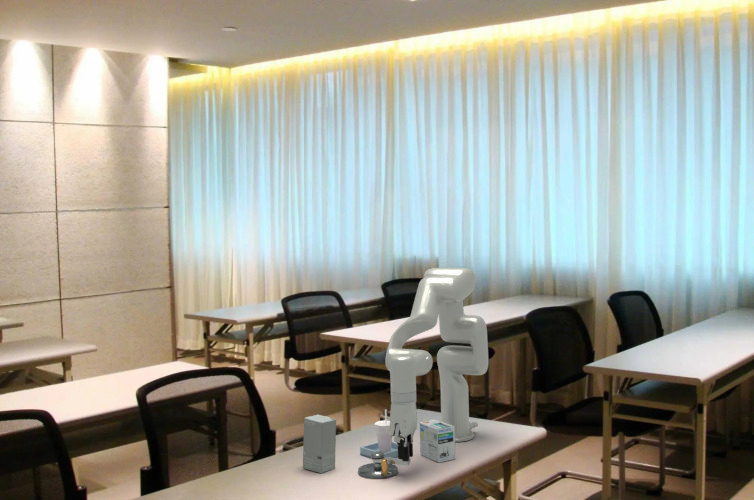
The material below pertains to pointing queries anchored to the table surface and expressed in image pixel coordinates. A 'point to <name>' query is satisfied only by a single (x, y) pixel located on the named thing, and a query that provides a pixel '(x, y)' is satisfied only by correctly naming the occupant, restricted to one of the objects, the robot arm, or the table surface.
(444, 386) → the robot arm
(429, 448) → the light bulb box
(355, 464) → the table surface
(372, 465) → the crank base
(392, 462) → the crank
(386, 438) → the smoothie
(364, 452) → the tray
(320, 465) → the skincare box
